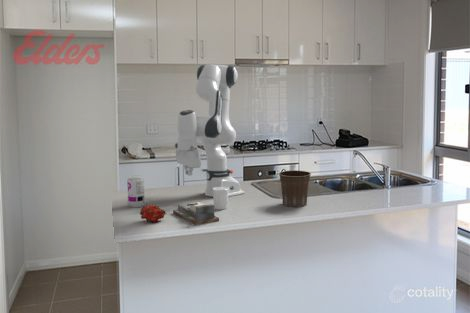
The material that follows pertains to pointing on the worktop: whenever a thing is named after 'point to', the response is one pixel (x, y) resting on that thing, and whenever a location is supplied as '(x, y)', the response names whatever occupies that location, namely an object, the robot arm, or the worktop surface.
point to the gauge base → (197, 214)
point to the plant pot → (294, 187)
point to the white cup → (220, 197)
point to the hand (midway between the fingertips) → (188, 174)
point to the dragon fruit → (152, 213)
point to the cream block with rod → (194, 206)
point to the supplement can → (136, 191)
